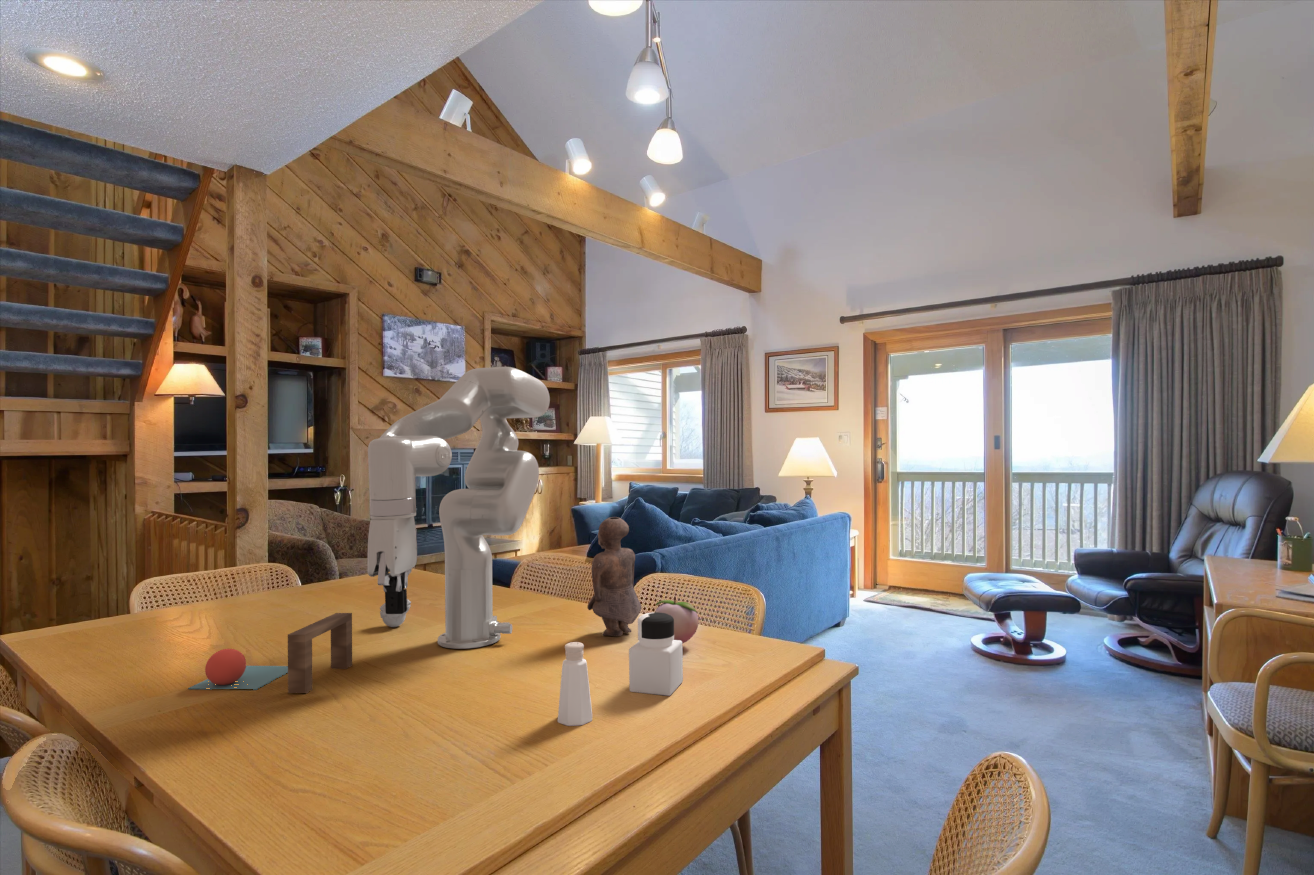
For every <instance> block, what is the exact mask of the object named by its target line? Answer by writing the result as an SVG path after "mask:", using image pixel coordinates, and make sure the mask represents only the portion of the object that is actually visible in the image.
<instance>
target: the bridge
mask: <svg viewBox="0 0 1314 875" xmlns="http://www.w3.org/2000/svg"><path fill="white" fill-rule="evenodd" d="M329 631H330V669H331V668H332V670H333V669H335V670H336V669H338V668H339V669H341V670H342V669H343V670H345V669H346V670H347V669H348V667H349V668H350V667H352V666H353V613H352V612H335V613H334V614H331V615H329V616H326V617H325V618H322V619H320V620H317V621H314V622H313V623H311V624H308V625H306V626H303V627H302V628H299V629H297V630H295V631H293V632H291V633H288V634H287V666H288V673H287V694H288V693H306V694H308V693H309V691H310V690H311V691H313V639H315V638H317V637H319V636H321V635H323V634H325V633H327V632H329ZM311 691H310V692H311Z"/></svg>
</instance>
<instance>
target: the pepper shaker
mask: <svg viewBox="0 0 1314 875" xmlns="http://www.w3.org/2000/svg"><path fill="white" fill-rule="evenodd" d="M584 647H585V645H584V643H582V642H579V641H573V642H572V641H571V642H568V643H566V644H565V645H564V649H565V652H564V653H565V659H564V660H562V666H561V674H560V676H561V677H560V678H561V679H560V690H559V701H558V710H557V713H558V714H557V723H558V724H561V725H564V726H567V727H573V726H574V727H575V726H578V727H579V726H583V725H585V724H588V723H590V722H592V721H593V710H592V699H591V690H590V681H589V671H588V662H587V660H586V659H585V658H584V654H585V653H584V652H585V651H584Z"/></svg>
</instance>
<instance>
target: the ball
mask: <svg viewBox="0 0 1314 875" xmlns="http://www.w3.org/2000/svg"><path fill="white" fill-rule="evenodd" d="M246 666H247V660H246V657H245V655H244V654H243V653H242V652H241V651H239V650H238V649H235V648H223V649H219V650H217V651H216V652H214V653H213V654H212V655H211V656H210V657H209V658H208V660H207V661H206V664H205V666H204V670H205V673H204V674H205V676H206V679H209V680H210V681H211V682H212V683H214V684H217V685H228V684H231V683H233V682H235V681H237V680H238V679H239V678H240V677H241V676H242V675H243V673H244V671H245V669H246Z"/></svg>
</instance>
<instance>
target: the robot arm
mask: <svg viewBox="0 0 1314 875" xmlns="http://www.w3.org/2000/svg"><path fill="white" fill-rule="evenodd" d="M550 401H551V397H550V393H549V390H548V388H547V386H546V385H545V383H544V382H543V381H541V380H540V379H539V378H536V377H534V376H533V375H531V374H529V373H527V372H526V371H523V370H520V369H518V368H515V367H513V366H512V367H511V366H496V367H495V366H494V367H476V368H472V369H469V370H468V371H466V372H465V373H464V374H463V375H461V376H460V377H459V378H458V379H457V380H456V381H455V382H454V384H453V385H451V387H450V388H449V389H448V390H447V391H446V392H445V393H444V394H443V395H442V396H441V397H440V398H439V399H438V400H436V401H434V402H431V403H430V404H427V405H425V406H423V407H421V408H419V409H416V410H415V411H413V412H411V413H408V414H406V415H405V416H403V417H401V418H400V419H398V420H397V421H395V422H393V423H392V424H391V425H390V426H389V427H388V428H387V429H386V430H385V431H384V432H383V433H382V434H381V435H380V437H379V438H375V439H372V440H371V441H370V442H369V443H368V446H367V459H368V461H367V463H368V487H369V489H368V490H369V515H370V516H369V519H370V521H369V526H368V538H367V575H368V576H369V577H371V578H374V577H377V585H378V586H382V590H383V592H384V603H385V610H386V614H403V613H404V612H406V611H407V599H408V595H407V594H408V592H407V591H408V590H407V589H408V581H409V579H408V577H409V575H410V574H411V573H412V569H413V567H415V566H416V565H417V561H418V560H417V559H418V543H417V530H416V521H415V517H416V516H417V506H416V505H417V500H416V477H434V476H438V475H441V474H442V473H443V472H446V470H447V469H448V468H449V466H450V464H451V463H452V458H453V455H452V454H453V453H452V449H451V446H450V445H449V443H448V442H447V441H446V440H447V439H451V438H456V437H457V436H460V435H463V434H466V433H467V432H469V431H470V430H471V429H473V427H474V426H475V424H477V422H478V420H479V421H480V424H481V425H480V426H481V437H480V439H479V441H478V444H477V446H476V448H475V450H474V453H473V455H472V456H471V458H470V460H469V462H468V464H467V467H466V470H465V472H464V484H465V486H466V487H467V488H459V489H454V490H452V491H450V492H448V493H447V494H445V495H444V497H442V500H441V501H440V504H439V509H438V511H439V512H438V513H439V520H440V527H441V530H442V535H443V536H442V537H443V543H444V546H443V547H444V587H445V589H444V595H445V596H444V598H445V601H444V602H445V612H444V613H445V616H444V617H445V618H444V619H445V632H443V633H442V634H440V635H439V636H438V637H437V644H438V646H440V647H443V648H447V649H455V650H456V649H458V650H459V649H460V650H462V649H463V650H464V649H475V648H476V649H478V648H481V647H485V646H489V645H493V644H494V643H497V642H498V641H500V639H501V634H504V635H505V634H509V635H511V634H512V632H513V624H512V623H510V622H506V621H505V622H500V621H498V616H497V615H493V555H492V554H493V553H492V551H491V548H490V545H489V544H488V541H487V540H486V538H485V537H484V536H511V535H514V534H515V533H516V532H518V531H519V529H520V528H521V526H522V524H523V522H524V520H525V518H526V515H527V513H528V510H529V508H530V506H531V502H532V500H533V498H534V494H535V493H536V489H537V487H538V483H539V476H540V469H539V463H538V460H537V459H536V457H535V455H533V454H532V453H531V452H528V451H525V450H518V448H519V438H518V436H517V434H516V432H515V430H514V429H513V428H512V427H511V426H510V424H509V422H508V421H507V419H525V418H526V419H527V418H528V419H529V418H531V419H532V418H534V419H535V418H540V417H542V416H543V415H545V414H546V413H547V411H548V409H549V407H550Z"/></svg>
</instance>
